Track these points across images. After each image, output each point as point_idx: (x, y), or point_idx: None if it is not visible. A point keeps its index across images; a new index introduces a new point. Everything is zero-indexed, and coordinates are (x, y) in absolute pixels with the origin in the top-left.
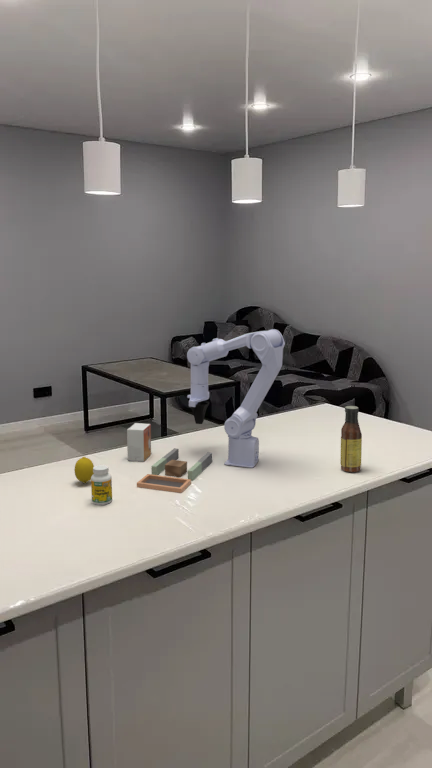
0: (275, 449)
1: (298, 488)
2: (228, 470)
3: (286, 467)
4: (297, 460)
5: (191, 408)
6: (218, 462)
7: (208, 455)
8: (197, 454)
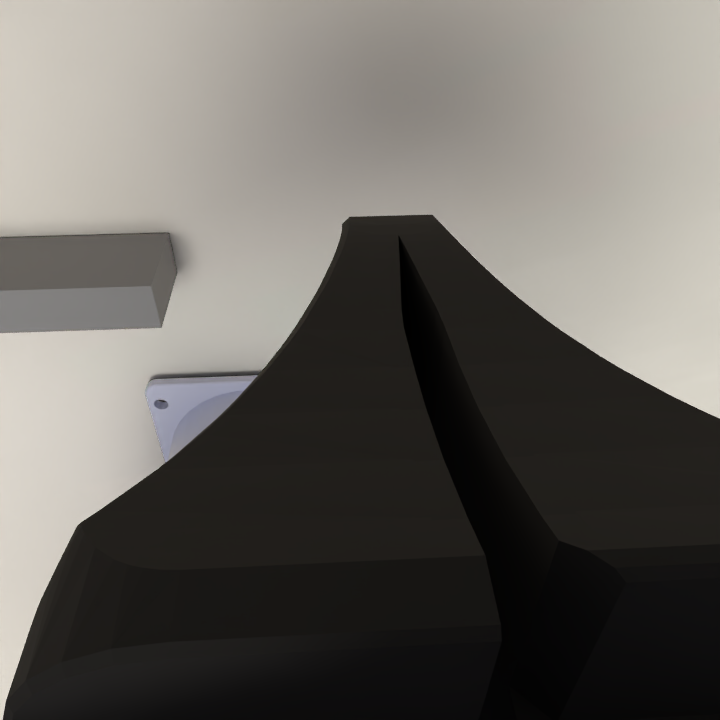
0: None
1: None
2: (60, 429)
3: None
4: None
5: (179, 463)
6: (186, 322)
7: (53, 326)
8: (323, 52)
